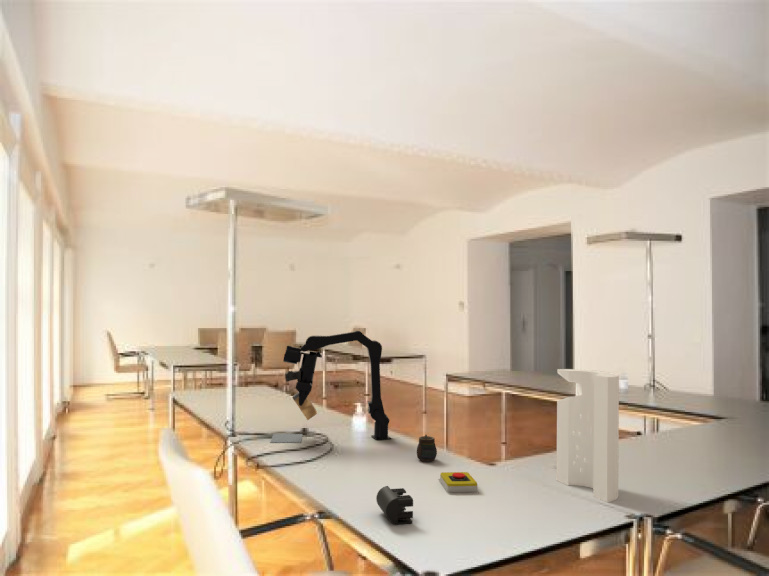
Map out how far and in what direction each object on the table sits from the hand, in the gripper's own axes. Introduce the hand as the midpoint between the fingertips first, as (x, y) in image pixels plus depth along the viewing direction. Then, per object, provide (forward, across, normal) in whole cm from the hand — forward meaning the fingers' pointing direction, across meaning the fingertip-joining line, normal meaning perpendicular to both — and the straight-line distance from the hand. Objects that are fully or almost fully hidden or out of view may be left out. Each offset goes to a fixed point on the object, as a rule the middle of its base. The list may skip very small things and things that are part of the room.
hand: (300, 404), depth 226 cm
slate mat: (+14, 0, -3) cm, 15 cm away
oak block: (+4, 0, +6) cm, 7 cm away
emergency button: (+6, +62, +52) cm, 81 cm away
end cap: (+9, +87, +30) cm, 92 cm away
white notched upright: (-2, +67, +92) cm, 113 cm away
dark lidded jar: (+6, +34, +48) cm, 59 cm away
